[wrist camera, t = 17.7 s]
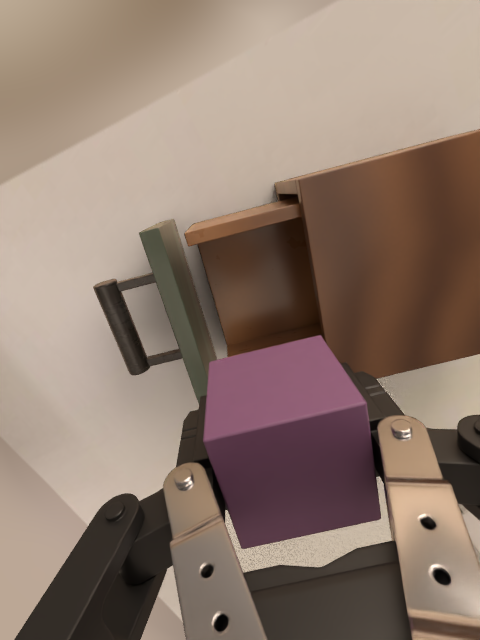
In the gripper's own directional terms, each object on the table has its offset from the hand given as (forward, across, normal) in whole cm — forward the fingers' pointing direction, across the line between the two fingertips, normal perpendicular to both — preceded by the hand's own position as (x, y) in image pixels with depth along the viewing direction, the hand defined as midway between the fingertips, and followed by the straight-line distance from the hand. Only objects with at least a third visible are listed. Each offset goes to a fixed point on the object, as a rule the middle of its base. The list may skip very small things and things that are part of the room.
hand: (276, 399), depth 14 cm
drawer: (+15, +2, -1) cm, 16 cm away
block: (0, 0, 0) cm, 0 cm away
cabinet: (+16, -11, -1) cm, 20 cm away
